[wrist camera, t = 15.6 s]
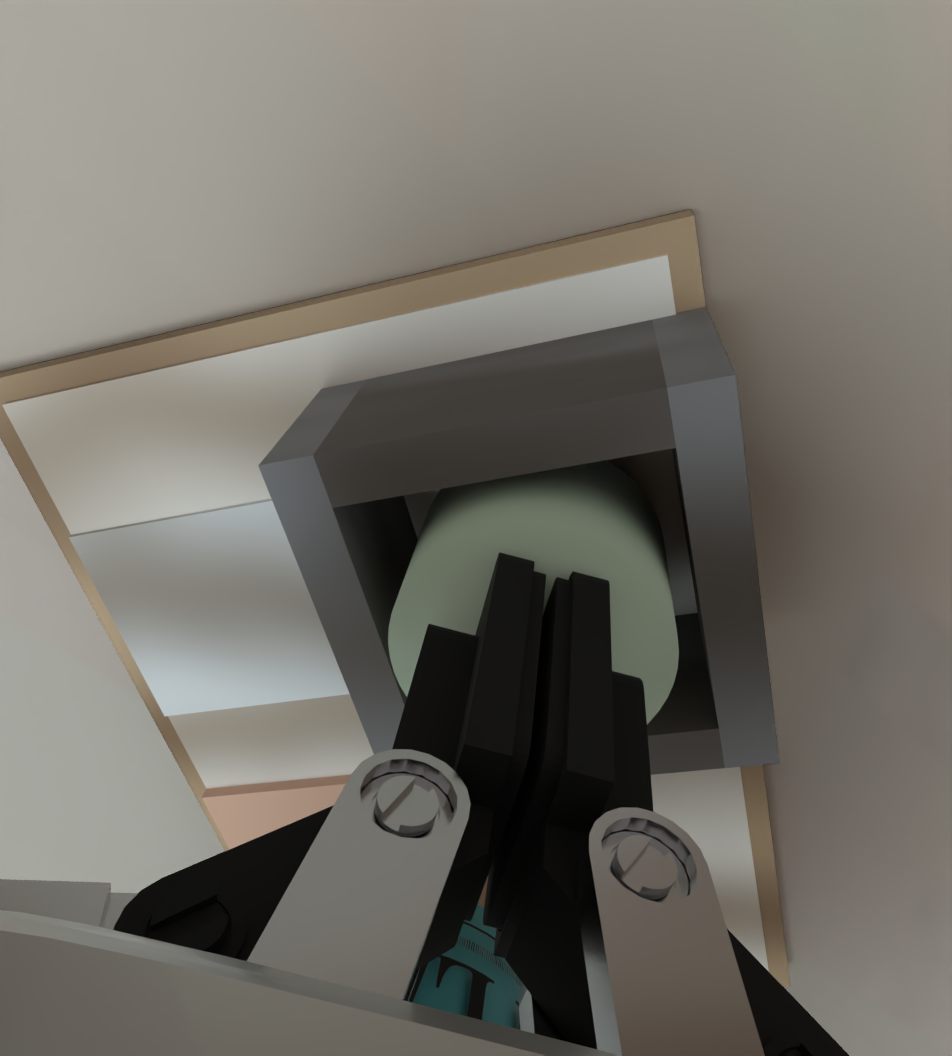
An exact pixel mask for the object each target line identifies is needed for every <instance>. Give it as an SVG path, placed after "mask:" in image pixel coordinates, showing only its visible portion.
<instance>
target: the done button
mask: <svg viewBox="0 0 952 1056" xmlns="http://www.w3.org/2000/svg"><path fill="white" fill-rule="evenodd" d="M499 552H500V553H504V554H508V555H512V556H516V557H520V558H524V559H528V560H531V561H534V562H535V564H534V571H536V572H539V573H543V574H546V584H545V595H544V606H543V614H544V611H545V608H546V605H547V602H548V599H549V596H550V593H551V590H552V587H553V584H554V581H555V579H556V578H557V577H559V578H563V579H566V580H569V577H570V575H571V573H572V572H573V571H574V572H578V573H582V574H586V575H589V576H593V577H597V578H601V579H605V580H608V581H609V584H610V617H611V653H612V671H614V672H618V673H622V674H626V675H630V676H634V677H638V678H640V679H641V680H642V681H643V686H644V695H645V708H646V721H647V724H648V723H649V722H650V721H651V720H652V719H653V717H654V716H655V715H656V714H657V713H658V712H659V710H660V709H661V707H662V706H663V704H664V703H665V701H666V699H667V698H668V696H669V694H670V691H671V689H672V687H673V684H674V681H675V677H676V673H677V669H678V659H679V647H678V636H677V629H676V622H675V615H674V608H673V601H672V594H671V587H670V580H669V573H668V566H667V559H666V552H665V545H664V538H663V533H662V529H661V525H660V521H659V519H658V516H657V514H656V512H655V509H654V507H653V506H652V504H651V502H650V501H649V499H648V497H647V496H646V494H645V493H644V492H643V491H642V489H641V488H640V487H639V486H638V485H637V483H636V482H635V481H633V480H632V479H631V478H630V477H629V476H628V475H627V474H626V473H625V472H623V471H622V470H621V469H619V468H618V467H616V466H615V465H614V464H612V463H610V462H608V461H607V460H604V461H598V462H592V463H587V464H581V465H575V466H569V467H564V468H558V469H552V470H547V471H541V472H535V473H529V474H524V475H518V476H512V477H507V478H501V479H495V480H489V481H484V482H478V483H472V484H466V485H461V486H455V487H449V488H444V489H441V490H440V491H439V492H438V494H437V496H436V497H435V499H434V501H433V503H432V505H431V507H430V509H429V512H428V515H427V517H426V520H425V523H424V525H423V528H422V531H421V534H420V536H419V539H418V542H417V545H416V547H415V550H414V553H413V556H412V558H411V561H410V564H409V567H408V569H407V572H406V575H405V577H404V580H403V583H402V586H401V588H400V591H399V594H398V597H397V599H396V602H395V605H394V608H393V610H392V613H391V618H390V623H389V630H388V647H389V655H390V660H391V664H392V667H393V671H394V674H395V676H396V678H397V680H398V682H399V685H400V687H401V688H402V690H403V692H404V693H405V695H406V696H408V692H409V689H410V685H411V682H412V679H413V675H414V672H415V668H416V665H417V661H418V658H419V654H420V651H421V647H422V644H423V640H424V637H425V633H426V630H427V627H428V624H432V625H436V626H440V627H444V628H448V629H452V630H455V631H459V632H463V633H467V634H471V635H475V634H476V631H477V627H478V624H479V620H480V617H481V613H482V610H483V606H484V603H485V599H486V596H487V592H488V589H489V585H490V581H491V578H492V574H493V571H494V567H495V564H496V561H497V557H498V554H499Z"/></svg>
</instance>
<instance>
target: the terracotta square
mask: <svg viewBox="0 0 952 1056" xmlns="http://www.w3.org/2000/svg"><path fill="white" fill-rule="evenodd" d="M349 777H350V775H342V776H332V777H322V778H311V779H301V780H291V781H281V782H271V783H261V784H250V785H240V786H230V787H220V788H210V789H206V791H205V793H204V794H203V796H202V799H203V801H204V803H205V805H206V807H207V809H208V810H209V812H210V814H211V816H212V818H213V820H214V821H215V823H216V825H217V827H218V829H219V831H220V833H221V834H222V836H223V838H224V840H225V842H226V844H227V846H228V847H229V849H232V848H234V847H237V846H239V845H241V844H244V843H246V842H248V841H251V840H253V839H255V838H258V837H260V836H263V835H265V834H267V833H270V832H272V831H274V830H277V829H279V828H281V827H284V826H286V825H288V824H291V823H293V822H295V821H298V820H300V819H302V818H305V817H307V816H310V815H312V814H314V813H317V812H319V811H321V810H324V809H326V808H328V807H331V806H333V805H334V804H335V802H336V801H337V799H338V797H339V795H340V793H341V792H342V790H343V788H344V786H345V784H346V783H347V781H348V779H349ZM487 882H488V877H487V879H486V882H485V885H484V888H483V890H482V893H481V896H480V899H479V901H478V904H477V905H479V906H481V907H483V908H484V906H485V898H486V890H487Z"/></svg>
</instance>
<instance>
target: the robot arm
mask: <svg viewBox="0 0 952 1056" xmlns="http://www.w3.org/2000/svg"><path fill="white" fill-rule="evenodd" d="M534 564H535V562H534V561H531V560H528V559H524V558H520V557H516V556H512V555H508V554H504V553H500V552H499V554H498V557H497V561H496V564H495V567H494V571H493V574H492V578H491V581H490V585H489V589H488V592H487V596H486V599H485V603H484V606H483V610H482V613H481V617H480V620H479V624H478V627H477V631H476V634H475V635H471V634H467V633H463V632H459V631H455V630H452V629H448V628H444V627H440V626H436V625H432V624H428V627H427V630H426V633H425V637H424V640H423V644H422V647H421V651H420V654H419V658H418V661H417V665H416V668H415V672H414V675H413V679H412V682H411V685H410V689H409V692H408V696H407V699H406V703H405V706H404V710H403V713H402V717H401V720H400V724H399V727H398V731H397V734H396V737H395V741H394V744H393V748H392V750H388V751H384V752H380V753H376V754H374V755H372V756H371V757H369V758H367V759H366V760H364V761H362V762H361V763H360V764H359V765H358V767H357V768H356V769H355V770H354V771H353V773H352V774H351V775H350V777H349V779H348V781H347V783H346V784H345V786H344V788H343V790H342V792H341V793H340V795H339V797H338V799H337V801H336V802H335V804H334V805H333V806H331V807H328V808H326V809H324V810H321V811H319V812H317V813H314V814H312V815H310V816H307V817H305V818H302V819H300V820H298V821H295V822H293V823H291V824H288V825H286V826H284V827H281V828H279V829H277V830H274V831H272V832H270V833H267V834H265V835H263V836H260V837H258V838H255V839H253V840H251V841H248V842H246V843H244V844H241V845H239V846H237V847H234V848H232V849H230V850H227V851H225V852H223V853H220V854H218V855H215V856H213V857H211V858H208V859H206V860H204V861H201V862H199V863H197V864H194V865H192V866H190V867H187V868H185V869H183V870H180V871H178V872H176V873H173V874H171V875H168V876H166V877H164V878H161V879H160V880H158V881H156V882H155V883H153V884H151V885H149V886H148V887H146V888H144V889H143V890H141V891H140V892H139V893H111V883H99V882H68V881H37V880H7V879H0V1056H849V1055H848V1054H847V1053H846V1052H845V1051H844V1050H843V1048H842V1047H841V1046H840V1045H839V1044H838V1043H837V1042H836V1041H835V1040H834V1039H833V1038H832V1037H831V1036H830V1035H829V1034H828V1033H827V1032H826V1031H825V1030H824V1029H823V1028H822V1027H821V1026H820V1025H819V1024H818V1022H817V1021H816V1020H815V1019H814V1018H813V1017H812V1016H811V1015H810V1014H809V1013H808V1012H807V1011H806V1010H805V1009H804V1008H803V1007H802V1006H801V1005H800V1004H799V1003H798V1002H797V1001H796V1000H795V999H794V997H793V996H792V995H791V994H790V993H789V992H788V991H787V990H786V989H785V988H784V987H783V986H782V985H781V984H780V983H779V982H778V981H777V980H776V979H775V978H774V977H773V976H772V975H771V974H770V972H769V971H768V970H767V969H766V968H765V967H764V966H763V965H762V964H761V963H760V962H759V961H758V960H757V959H756V958H755V957H754V956H753V955H752V954H751V953H750V952H749V951H748V950H747V949H746V948H745V946H744V945H743V944H742V943H741V942H740V941H739V940H738V939H737V938H736V937H735V936H734V935H733V934H732V933H731V932H730V931H729V930H728V929H727V927H726V924H725V921H724V917H723V914H722V911H721V907H720V904H719V901H718V897H717V894H716V891H715V887H714V884H713V881H712V877H711V874H710V871H709V867H708V865H707V862H706V860H705V858H704V856H703V854H702V852H701V849H700V848H699V847H698V845H697V844H696V843H695V842H694V840H693V839H692V838H691V837H690V835H689V834H688V833H687V832H685V831H684V830H683V829H682V828H680V827H679V826H678V825H677V824H675V823H674V822H673V821H671V820H669V819H667V818H665V817H663V816H662V815H660V814H658V813H656V812H654V811H653V798H652V785H651V772H650V759H649V746H648V734H647V721H646V708H645V695H644V686H643V681H642V680H641V679H640V678H638V677H634V676H630V675H626V674H622V673H618V672H614V671H612V653H611V617H610V584H609V581H608V580H605V579H601V578H597V577H593V576H589V575H586V574H582V573H578V572H574V571H573V572H572V573H571V575H570V577H569V580H566V579H563V578H559V577H557V578H556V579H555V581H554V584H553V587H552V590H551V593H550V596H549V599H548V602H547V605H546V608H545V611H544V614H543V606H544V595H545V584H546V574H543V573H539V572H536V571H534ZM487 877H488V882H487V890H486V898H485V906H484V913H483V925H485V926H489V927H493V928H496V936H495V945H494V954H493V955H494V956H498V957H502V958H505V960H506V961H507V963H508V964H509V966H510V967H511V968H512V970H513V971H514V972H515V974H516V975H517V976H518V978H519V979H520V980H521V982H522V983H523V986H522V988H521V990H520V1001H519V1015H520V1030H518V1029H515V1028H511V1027H507V1026H503V1025H499V1024H495V1023H491V1022H487V1021H483V1020H479V1019H475V1018H471V1017H467V1016H463V1015H459V1014H455V1013H451V1012H448V1011H444V1010H440V1009H436V1008H432V1007H428V1006H424V1005H420V1004H416V1003H412V1002H408V1001H409V998H410V996H411V993H412V990H413V987H414V984H415V982H416V979H417V976H418V973H419V969H420V967H422V966H424V965H425V964H427V963H429V962H430V961H432V960H434V959H435V958H437V957H439V956H440V955H442V954H444V953H445V952H447V951H449V950H450V949H452V948H454V947H455V945H456V942H457V939H458V936H459V934H460V931H461V928H462V925H463V922H464V920H466V921H471V920H472V918H473V915H474V913H475V910H476V907H477V904H478V901H479V899H480V896H481V893H482V890H483V888H484V885H485V882H486V879H487Z"/></svg>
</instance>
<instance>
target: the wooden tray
mask: <svg viewBox="0 0 952 1056" xmlns="http://www.w3.org/2000/svg"><path fill="white" fill-rule="evenodd" d="M0 438H1V440H2V442H3V444H4V446H5V447H6V449H7V451H8V453H9V455H10V457H11V458H12V460H13V462H14V464H15V466H16V468H17V469H18V471H19V473H20V475H21V477H22V479H23V481H24V482H25V484H26V486H27V488H28V490H29V492H30V493H31V495H32V497H33V499H34V501H35V503H36V504H37V506H38V508H39V510H40V512H41V514H42V515H43V517H44V519H45V521H46V523H47V525H48V526H49V528H50V530H51V532H52V534H53V536H54V537H55V539H56V541H57V543H58V545H59V547H60V548H61V550H62V552H63V554H64V556H65V558H66V560H67V561H68V563H69V565H70V567H71V569H72V571H73V572H74V574H75V576H76V578H77V580H78V582H79V583H80V585H81V587H82V589H83V591H84V593H85V594H86V596H87V598H88V600H89V602H90V604H91V605H92V607H93V609H94V611H95V613H96V615H97V616H98V618H99V620H100V622H101V624H102V626H103V627H104V629H105V631H106V633H107V635H108V637H109V639H110V640H111V642H112V644H113V646H114V648H115V650H116V651H117V653H118V655H119V657H120V659H121V661H122V662H123V664H124V666H125V668H126V670H127V672H128V673H129V675H130V677H131V679H132V681H133V683H134V684H135V686H136V688H137V690H138V692H139V694H140V695H141V697H142V699H143V701H144V703H145V705H146V706H147V708H148V710H149V712H150V714H151V716H152V718H153V719H154V721H155V723H156V725H157V727H158V729H159V730H160V732H161V734H162V736H163V738H164V740H165V741H166V743H167V745H168V747H169V749H170V751H171V752H172V754H173V756H174V758H175V760H176V762H177V763H178V765H179V767H180V769H181V771H182V773H183V774H184V776H185V778H186V780H187V782H188V784H189V785H190V787H191V789H192V791H193V793H194V795H195V797H196V798H197V800H198V802H199V804H200V806H201V808H202V809H203V811H204V813H205V815H206V817H207V819H208V820H209V822H210V824H211V826H212V828H213V830H214V831H215V833H216V835H217V837H218V839H219V841H220V842H221V844H222V846H223V848H224V850H225V851H227V850H230V849H229V847H228V846H227V844H226V842H225V840H224V838H223V836H222V834H221V833H220V831H219V829H218V827H217V825H216V823H215V821H214V820H213V818H212V816H211V814H210V812H209V810H208V809H207V807H206V805H205V803H204V801H203V799H202V796H203V794H204V793H205V791H206V789H210V788H220V787H230V786H240V785H250V784H261V783H271V782H281V781H291V780H301V779H311V778H322V777H332V776H342V775H351V774H352V773H353V771H354V770H355V769H356V768H357V767H358V765H359V764H360V763H361V762H362V761H364V760H366V759H367V758H369V757H371V756H372V755H374V754H376V753H380V752H384V751H388V750H392V748H393V744H394V741H395V737H396V734H397V731H398V727H399V724H400V720H401V717H402V713H403V710H404V706H405V703H406V699H407V696H406V695H405V693H404V692H403V690H402V688H401V687H400V685H399V682H398V680H397V678H396V676H395V674H394V671H393V667H392V664H391V660H390V655H389V647H388V630H389V623H390V618H391V613H392V610H393V608H394V605H395V602H396V599H397V597H398V594H399V591H400V588H401V586H402V583H403V580H404V577H405V575H406V572H407V569H408V567H409V564H410V561H411V558H412V556H413V553H414V550H415V547H416V545H417V542H418V539H419V536H420V534H421V531H422V528H423V525H424V523H425V520H426V517H427V515H428V512H429V509H430V507H431V505H432V503H433V501H434V499H435V497H436V496H437V494H438V492H439V491H440V490H441V489H444V488H449V487H455V486H461V485H466V484H472V483H478V482H484V481H489V480H495V479H501V478H507V477H512V476H518V475H524V474H529V473H535V472H541V471H547V470H552V469H558V468H564V467H569V466H575V465H581V464H587V463H592V462H598V461H604V460H607V461H608V462H610V463H612V464H614V465H615V466H616V467H618V468H619V469H621V470H622V471H623V472H625V473H626V474H627V475H628V476H629V477H630V478H631V479H632V480H633V481H635V482H636V483H637V485H638V486H639V487H640V488H641V489H642V491H643V492H644V493H645V494H646V496H647V497H648V499H649V501H650V502H651V504H652V506H653V507H654V509H655V512H656V514H657V516H658V519H659V521H660V525H661V529H662V533H663V538H664V545H665V552H666V559H667V566H668V573H669V580H670V587H671V594H672V601H673V608H674V615H675V622H676V629H677V636H678V647H679V659H678V669H677V673H676V677H675V681H674V684H673V687H672V689H671V691H670V694H669V696H668V698H667V699H666V701H665V703H664V704H663V706H662V707H661V709H660V710H659V712H658V713H657V714H656V715H655V716H654V717H653V719H652V720H651V721H650V722H649V723H648V724H647V734H648V746H649V759H650V772H651V785H652V798H653V811H654V812H656V813H658V814H660V815H662V816H663V817H665V818H667V819H669V820H671V821H673V822H674V823H675V824H677V825H678V826H679V827H680V828H682V829H683V830H684V831H685V832H687V833H688V834H689V835H690V837H691V838H692V839H693V840H694V842H695V843H696V844H697V845H698V847H699V848H700V849H701V852H702V854H703V856H704V858H705V860H706V862H707V865H708V867H709V871H710V874H711V877H712V881H713V884H714V887H715V891H716V894H717V897H718V901H719V904H720V907H721V911H722V914H723V917H724V921H725V924H726V927H727V929H728V930H729V931H730V932H731V933H732V934H733V935H734V936H735V937H736V938H737V939H738V940H739V941H740V942H741V943H742V944H743V945H744V946H745V948H746V949H747V950H748V951H749V952H750V953H751V954H752V955H753V956H754V957H755V958H756V959H757V960H758V961H759V962H760V963H761V964H762V965H763V966H764V967H765V968H766V969H767V970H768V971H769V972H770V974H771V975H772V976H773V977H774V978H775V979H776V980H777V981H778V982H779V983H780V984H781V985H782V986H790V979H789V971H788V963H787V955H786V947H785V939H784V931H783V923H782V915H781V907H780V899H779V891H778V883H777V875H776V867H775V859H774V851H773V843H772V835H771V827H770V819H769V811H768V803H767V795H766V787H765V779H764V771H763V765H765V764H777V763H779V755H778V746H777V737H776V728H775V719H774V711H773V702H772V693H771V684H770V675H769V666H768V657H767V648H766V639H765V631H764V622H763V613H762V604H761V595H760V586H759V577H758V568H757V560H756V551H755V542H754V533H753V524H752V515H751V506H750V497H749V488H748V480H747V471H746V462H745V453H744V444H743V435H742V426H741V417H740V408H739V400H738V391H737V382H736V374H735V372H734V370H733V367H732V365H731V363H730V361H729V358H728V356H727V354H726V351H725V349H724V347H723V345H722V342H721V340H720V338H719V336H718V333H717V331H716V329H715V327H714V324H713V322H712V320H711V318H710V315H709V313H708V311H707V309H706V305H705V297H704V289H703V281H702V273H701V265H700V257H699V249H698V241H697V233H696V225H695V217H694V214H693V212H692V211H691V209H690V210H686V211H682V212H678V213H673V214H669V215H665V216H661V217H657V218H652V219H648V220H644V221H640V222H635V223H631V224H627V225H623V226H618V227H614V228H610V229H606V230H601V231H597V232H593V233H589V234H584V235H580V236H576V237H572V238H567V239H563V240H559V241H555V242H550V243H546V244H542V245H538V246H534V247H529V248H525V249H521V250H517V251H512V252H508V253H504V254H500V255H495V256H491V257H487V258H483V259H478V260H474V261H470V262H466V263H461V264H457V265H453V266H449V267H444V268H440V269H436V270H432V271H428V272H423V273H419V274H415V275H411V276H406V277H402V278H398V279H394V280H389V281H385V282H381V283H377V284H372V285H368V286H364V287H360V288H355V289H351V290H347V291H343V292H338V293H334V294H330V295H326V296H322V297H317V298H313V299H309V300H305V301H300V302H296V303H292V304H288V305H283V306H279V307H275V308H271V309H266V310H262V311H258V312H254V313H249V314H245V315H241V316H237V317H232V318H228V319H224V320H220V321H216V322H211V323H207V324H203V325H199V326H194V327H190V328H186V329H182V330H177V331H173V332H169V333H165V334H160V335H156V336H152V337H148V338H143V339H139V340H135V341H131V342H126V343H122V344H118V345H114V346H109V347H105V348H101V349H97V350H93V351H88V352H84V353H80V354H76V355H71V356H67V357H63V358H59V359H54V360H50V361H46V362H42V363H37V364H33V365H29V366H25V367H20V368H16V369H12V370H8V371H3V372H0Z"/></svg>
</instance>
